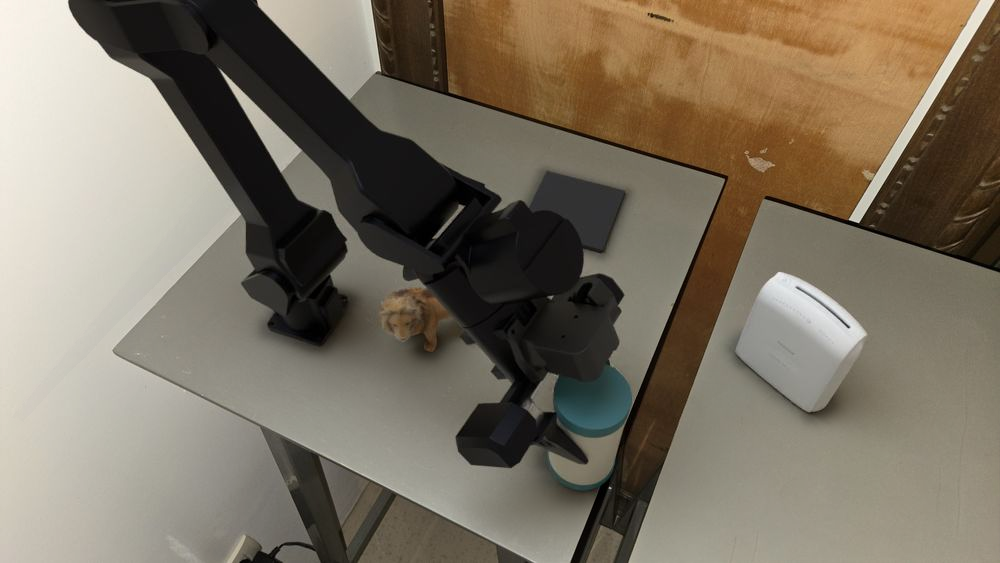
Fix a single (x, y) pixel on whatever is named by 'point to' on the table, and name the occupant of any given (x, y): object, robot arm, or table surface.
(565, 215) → the mat
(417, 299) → the lion figurine
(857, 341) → the photo printer
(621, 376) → the cylinder
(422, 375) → the table surface
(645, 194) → the table surface
